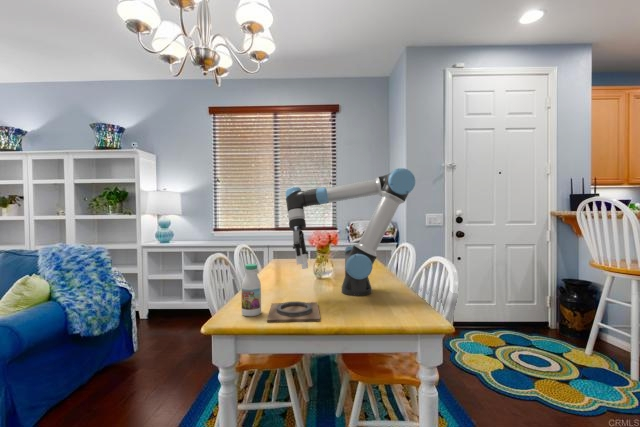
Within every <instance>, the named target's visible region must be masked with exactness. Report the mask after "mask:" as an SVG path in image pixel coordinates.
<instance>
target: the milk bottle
mask: <svg viewBox="0 0 640 427" xmlns="http://www.w3.org/2000/svg"><path fill="white" fill-rule="evenodd" d="M244 267H245V275H244V277H243V280H242V284H241V314H242V316H243V317H256V316H259V315H261V313H262V285H261V281H260V278H259V275H258V272H257V270H258V264H256V263H247V264H245V266H244Z"/></svg>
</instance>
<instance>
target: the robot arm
mask: <svg viewBox="0 0 640 427" xmlns="http://www.w3.org/2000/svg"><path fill="white" fill-rule="evenodd" d="M415 186H416V177H415V175H414V173H413V172H412V171H411V170H409V169H407V168H405V167H404V168H403V167H400V168H395V169H394V170H392V171H391V172H389V173H387V174H385V175H380V176H377V177H376V178H375V179H370V180H365V181H364V180H363V181H360V182H353V183H348V184H343V185H338V186H337V185H336V186H332V187H324V186H323V187H317V188H311V189H306V190H302V188H301V187H298V186H292V187H288V188H287V189H286V190H285V202H286V209H287V214H286V217H287V218H288V226H289V227H288V228H289V230H290V231H292V233H293V234H292V237H293V241H292V242H293V244H292V245H293V246H292V249H293V250H294V252H295V253H294V254H295V261H296V265H297V266H298V265H301V269H302V270H305V269H309V264H308V263H309V262H308V258H307V257H308V254H309V252H308V251H307V248H306V241H305V238H304V236H305V234H304V232H303V230H305V229H306V228H307V223H306V217H305V216H306V215H305V207H306V208H307V207H312V206H313V207H314V206H321V205H325V204H329V203H336V202H341V201H348V200H353V199H354V200H355V199H359V198H365V197H370V196H375V195H378V196H380V197H381V198H380V200H379V202H378V204H377V206H376V208H375V209H374V212H373V213H372V216H371V218H370V220H369V222H368V223H367V226H366V228H365V230H364V232H363V234H362V236H361V238H360V240H359V242H357V243H355V244H353V246H346V247H345V248H344V279H343V281H342V285H341V293H342V294H344V295H347V296H354V297H356V296H357V297H361V296H362V297H363V296H369V295H371V294H372V291H373V290H372V285H371V282H370V278H369V276H370V275H371V273H372V271H373V265H374V263H375V262H376V260H377V257H378V255H377V250H378V247H379V246H380V244H381V242H382V239H383V237H384V236H385V234H386V232H387V229H388V228H389V226H390V224H391V223H392V222H391V221H392V220H393V218H394V216H395V214H396V212H397V210H398V208H399V206H400V205H401V204H404V203H405V201H406V200H407V198H408V196H409V193H411V192H412V191H413V190H414V188H415Z"/></svg>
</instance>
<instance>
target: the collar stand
mask: <svg viewBox="0 0 640 427" xmlns="http://www.w3.org/2000/svg"><path fill="white" fill-rule="evenodd" d="M318 304H319V303H318V302H317V301H315V302H313V301H311V302H305V301H297V300H296V301H286V302H273V303H271V304H270V308H269V311H268V314H267V317H266V318H267V319H266V323H302V322H303V323H304V322H305V323H306V322H311V323H312V322H321V316H320V311H319V305H318Z"/></svg>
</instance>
